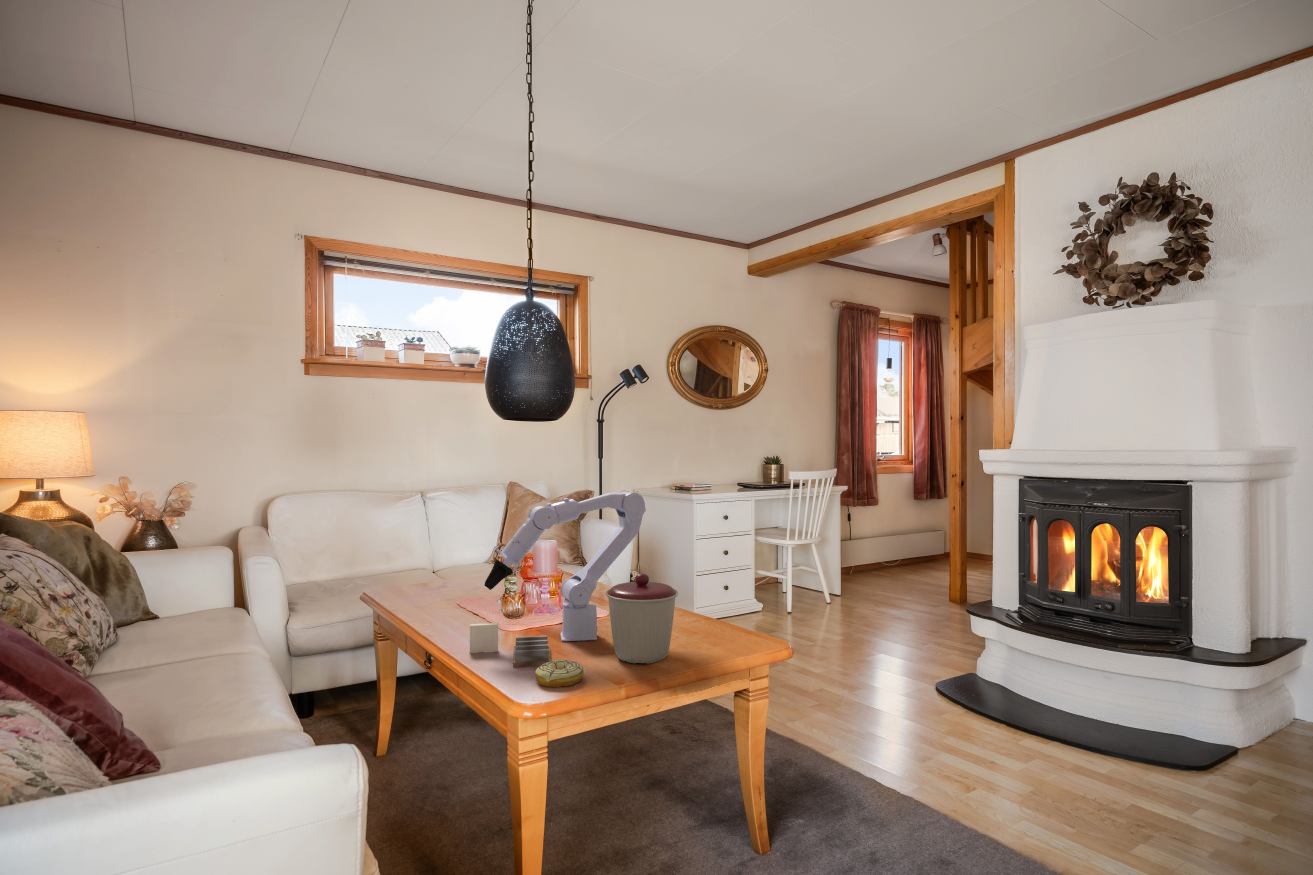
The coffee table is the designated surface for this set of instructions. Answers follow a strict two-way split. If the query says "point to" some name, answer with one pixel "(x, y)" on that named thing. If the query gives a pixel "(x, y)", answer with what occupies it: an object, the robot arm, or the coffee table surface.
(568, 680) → the decorated donut
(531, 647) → the dish rack
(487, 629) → the upright cream panel
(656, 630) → the canister
